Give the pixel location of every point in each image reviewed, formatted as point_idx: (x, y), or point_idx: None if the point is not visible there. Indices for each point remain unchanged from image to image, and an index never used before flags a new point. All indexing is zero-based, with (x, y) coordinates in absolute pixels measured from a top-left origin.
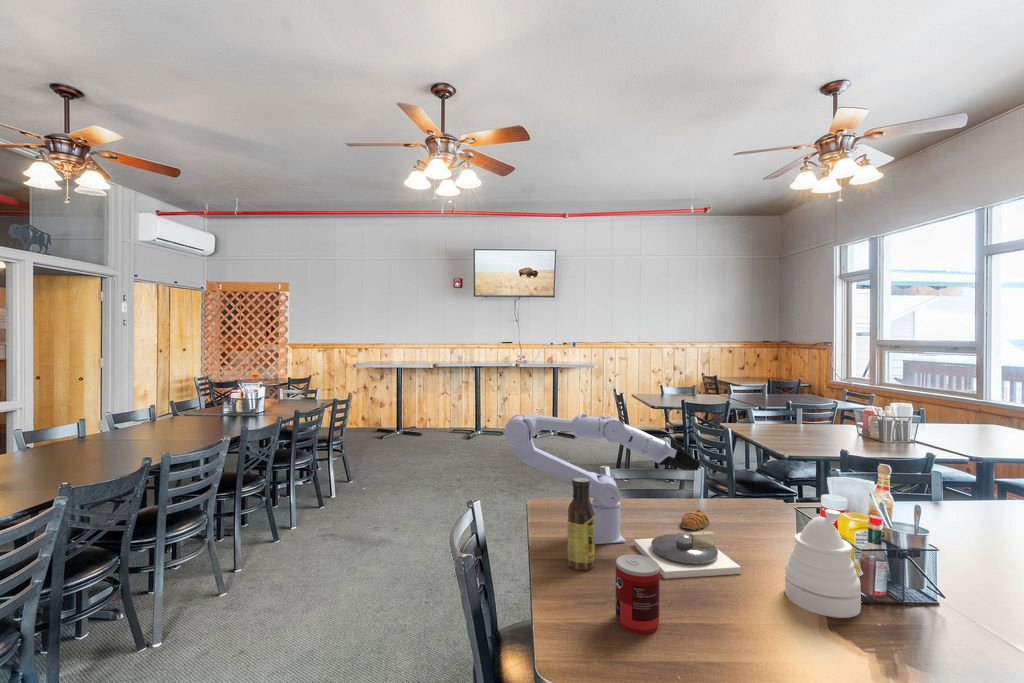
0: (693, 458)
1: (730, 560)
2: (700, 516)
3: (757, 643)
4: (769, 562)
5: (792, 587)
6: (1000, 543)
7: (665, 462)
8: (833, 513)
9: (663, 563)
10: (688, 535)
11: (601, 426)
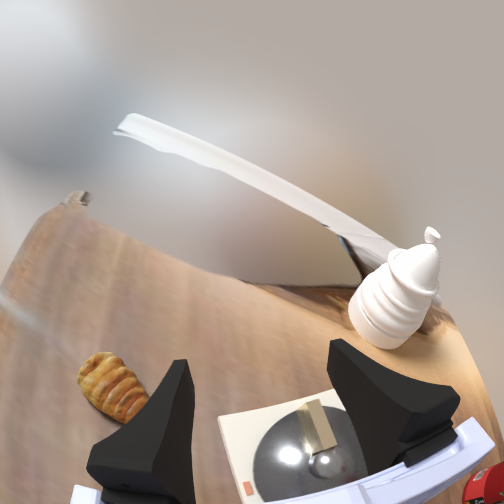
0: (365, 356)
1: (333, 392)
2: (123, 374)
3: (466, 395)
4: (294, 333)
5: (405, 338)
6: (206, 146)
7: (191, 490)
8: (439, 235)
9: None
10: (332, 453)
11: None
